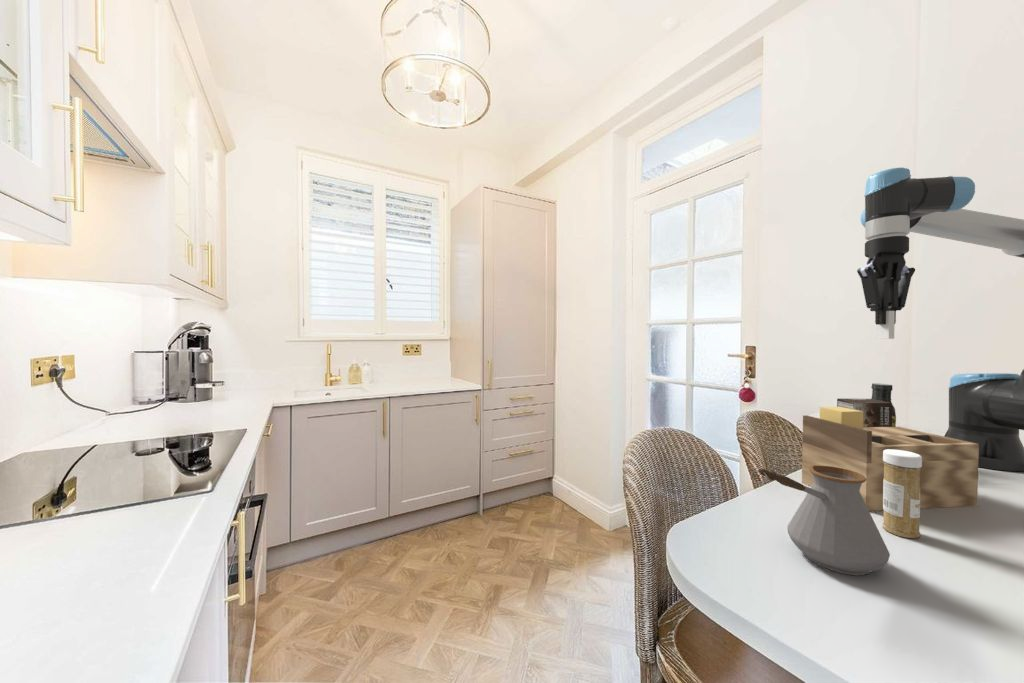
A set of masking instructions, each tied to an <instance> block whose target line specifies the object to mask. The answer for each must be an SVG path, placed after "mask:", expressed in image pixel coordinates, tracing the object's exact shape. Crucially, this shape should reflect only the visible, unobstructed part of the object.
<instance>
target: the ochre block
mask: <svg viewBox="0 0 1024 683" xmlns="http://www.w3.org/2000/svg"><path fill="white" fill-rule="evenodd" d="M819 418H820V419H824V420H828V421H832V422H836V423H840V424H844V425H848V426H853V427H857V428H861V429H863V411H859V410H854V409H849V408H844V407H837V406H823V407H821V406H820V407H819Z"/></svg>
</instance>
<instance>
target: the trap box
mask: <svg viewBox="0 0 1024 683" xmlns="http://www.w3.org/2000/svg"><path fill="white" fill-rule="evenodd" d="M944 436H945V435H940V434H935V433H930V432H927V431H921V430H917V429H912V428H907V427H902V426H896V427H863V429H861V428H857V427H853V426H848V425H844V424H840V423H836V422H832V421H828V420H824V419H820V417H814V416H811V415H802V445H801V446H802V447H801V448H802V450H801V451H802V453H801V455H802V456H801V464H802V465H801V484H803V485H805V486H808V487H810V488H811V487H812V485H813V483H814V478H813V474H812V473H811V472H810V471H809V467H810V466H811V465H823V466H833V467H839V468H844V469H848V470H851V471H854V472H857V473H860V474H862V475H863V476H865V478H866V481H865V482H864V483H862V484H861V487H860V494H861V496H862V498H863V500H864V502H865V504H866V506H867V508H868V510H869V512H873V511H875V512H876V511H884V509H883V479H884V461H883V451H884V450H887V449H894V450H903V451H908V452H913V453H916V454H919V455H920V456H921V457H922V467H921V469H920V509H935V508H953V507H956V508H957V507H960V508H961V507H977V506H978V496H979V495H978V491H979V489H978V488H979V487H978V486H979V467H978V457H979V444H977V443H972V442H967V441H963V440H958V439H954V438H949V437H944Z"/></svg>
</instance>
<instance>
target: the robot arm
mask: <svg viewBox="0 0 1024 683" xmlns="http://www.w3.org/2000/svg"><path fill="white" fill-rule="evenodd" d="M864 190H865V191H864V209H863V211H862V213H861V214H860V222H861V225H862V226H863V227H864V228H865V230H864V232H865V233H864V237H865V238H864V239H865V240H866V241H865V243H864V256H865V257H866V258H868V259H867V261H866V265H865V266H863V267H860V268H857V270H856V272H857V274H858V276H859V278H860V281H861V286H862V290H863V296H864V300H865V304H866V308H867V309H869V311H870V312H874V314H875V316H874V317H875V318H874V319H875V320H874V323H875V325H876V339H877V340H878V339H879V340H881V339H883V340H884V339H885V340H887V339H888V340H890V339H891V340H894V339H895V325H896V322H897V317H896V316H897V315H896V314H897V311H901V310H902V309H904V308H905V306H906V304H907V298H908V293H909V289H910V285H911V280H912V277H913V275H914V274H915V271H916V268H915V267H908V265H906V259H905V255H906V254H908V253H909V251H910V237H908V235H909V234H910V233H913V234H914V233H915V234H920V235H925V236H931V237H937V238H941V239H944V240H945V239H947V240H951V241H957V242H961V243H967V244H971V245H972V244H973V245H977V246H983V247H988V248H993V249H1000V250H1001V251H1002V252H1003V254H1005V255H1008V256H1014V257H1017V258H1023V259H1024V219H1022V218H1018V217H1011V216H1006V215H1001V214H1000V215H998V214H994V213H993V214H992V213H988V212H983V211H982V212H981V211H977V210H972V209H965V207H966V206H967V205H969V203H970V202H972V199H973V198H974V196H975V194H976V184H975V182H974V181H973V180H972V179H971V178H970V177H967V176H953V175H948V176H942V177H940V176H939V177H925V178H924V177H923V178H912V175H911V170H910V169H909V168H907V167H893V168H888V169H884V170H880V171H879V172H876V173H873V174H872V175H870V176H868V178H867V179H866V183H865V187H864ZM947 389H948V427H947V430H946V432H945V434H944V435H943V436H944V437H949V438H954V439H958V440H963V441H967V442H972V443H977V444H979V457H978V468H984V469H990V470H998V471H1008V472H1024V444H1023V442H1022V440H1021V438H1020V430H1021V431H1024V368H1023V369H1022V371H1021V373H1020V374H1019V373H1007V372H1006V373H1003V372H1001V373H998V372H997V373H996V372H995V373H993V372H992V373H991V372H990V373H986V372H985V373H957V374H954V375H952V377H950V380H949V386H948V388H947Z"/></svg>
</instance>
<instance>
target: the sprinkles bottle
mask: <svg viewBox="0 0 1024 683" xmlns="http://www.w3.org/2000/svg"><path fill="white" fill-rule="evenodd" d="M883 461H884V479H883V509H884V510H883V522H882V524H881V525H882V528H883V529H884V530H885V531H887V532H889V533H891V534H893V535H895V536H898V537H902V538H907V539H917V538H920V536H921V532H920V516H921V508H920V469H921V467H922V457H921V456H920V455H919V454H916V453H913V452H908V451H903V450H894V449H887V450H884V451H883Z"/></svg>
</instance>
